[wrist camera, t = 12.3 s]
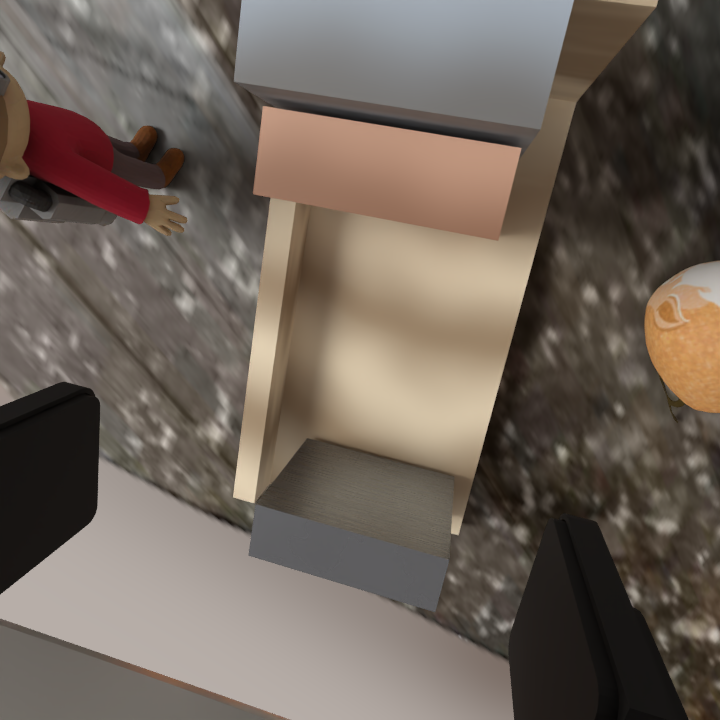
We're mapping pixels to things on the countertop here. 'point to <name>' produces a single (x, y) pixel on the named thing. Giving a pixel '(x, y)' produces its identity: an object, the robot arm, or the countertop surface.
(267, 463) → the book rack
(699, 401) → the helmet
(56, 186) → the toy
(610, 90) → the countertop surface
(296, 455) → the bookend
